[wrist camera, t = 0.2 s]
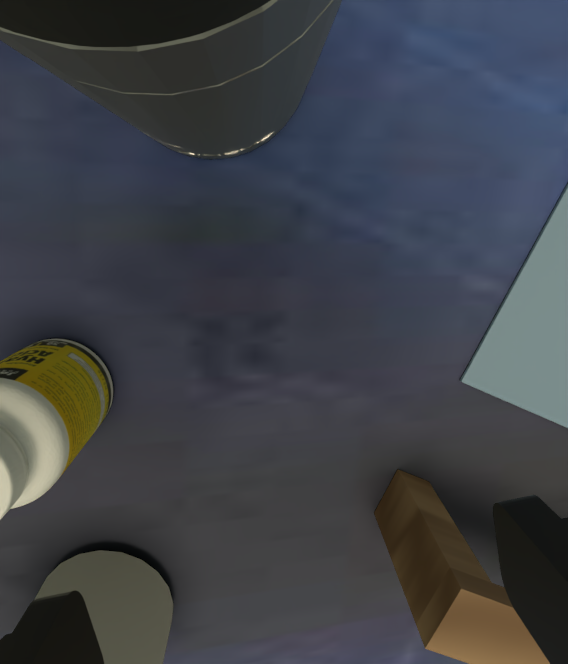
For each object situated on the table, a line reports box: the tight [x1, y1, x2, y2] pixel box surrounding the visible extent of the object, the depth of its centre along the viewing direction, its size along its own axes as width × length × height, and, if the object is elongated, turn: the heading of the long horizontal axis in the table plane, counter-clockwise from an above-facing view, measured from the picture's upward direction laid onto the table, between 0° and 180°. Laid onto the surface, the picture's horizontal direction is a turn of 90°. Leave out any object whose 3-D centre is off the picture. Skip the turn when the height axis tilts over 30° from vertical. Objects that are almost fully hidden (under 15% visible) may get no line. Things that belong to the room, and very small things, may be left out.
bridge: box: [374, 470, 550, 664], centre depth 25 cm, size 3×14×9 cm, turn 66°
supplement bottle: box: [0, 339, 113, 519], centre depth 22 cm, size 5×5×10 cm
